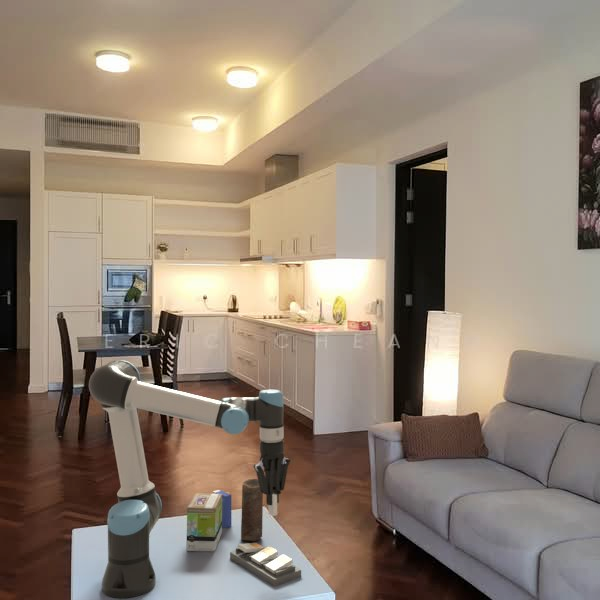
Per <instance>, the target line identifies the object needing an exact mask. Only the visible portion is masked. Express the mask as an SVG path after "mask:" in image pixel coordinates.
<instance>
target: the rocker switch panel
mask: <svg viewBox="0 0 600 600" xmlns="http://www.w3.org/2000/svg"><path fill="white" fill-rule="evenodd" d="M262 550H263V549H262ZM260 551H261V550H259V551H256V552H248V553H246V552H244V551H242V550H240V549H239V548H238V547H235V550H233V551H230V553H229V557H230V558H229V559H231V560H232V561H234V562H236V563H237V564H238V563H239V564H238V565H241V566H242V567H243V568H245V569H246V570H248V571H249V572H251V573H253V574H254V575H256V576H258V577H259V578H260V579H262V580H264V581H265V582H267V583H269V584H270V585H272V586H274V587H276V586H279V585H283V584H284V583H287V582H290V581H292V580H295V579H298V578H301V577H302V569H300V568H299V567H297V566H296V565H294V564H293V563H292V564H290V565H289V566H287V567H285V568H284V569H281V570H278V571H276V572H275V574H274V573H272V572H270V571H269V570H267V569H266V568H265V565H266V564H268V563H269V562H271V561H273V560H274V559H276V558H278V557H279V556H278V555H276V556H275V557H273V558H271V559H270V560H267V561H264V562H262V563H260V565H259V564H257V563H256V562H254V561H252V559H251V556H253V555H255V554H256V553H258V552H260Z"/></svg>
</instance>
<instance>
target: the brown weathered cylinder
mask: <svg viewBox="0 0 600 600" xmlns="http://www.w3.org/2000/svg"><path fill="white" fill-rule="evenodd" d="M241 486H242V487H241V488H242V489H241V520H240V523H241V524H240V525H241V526H240V539H241V540H243V541H249V542H255V541H259V540H260V539H261V538H263V512H264V511H263V507H264V506H263V505H264V504H263V503H264V502H263V501H264V500H263V499H264V494H263V493H261V490H260V486H259V482H258V478H249V479H246V480H245V481H243V483H242V485H241Z"/></svg>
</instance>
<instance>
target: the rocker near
mask: <svg viewBox="0 0 600 600" xmlns="http://www.w3.org/2000/svg"><path fill="white" fill-rule="evenodd" d="M293 563H294V562H293V559H292V558H291V557H289V556H288V555H286V554H284V553H283V554H281V555H279V556H278V558H276V559H274V560H273V561H271V562H269V563H268V564H266V565H265V568H266V569H267V570H269V571H270V572H272V573H274V574H275V572H276V571H278V570H281V569H284V568H285V567H287V566H289V565H290V564H292V565H293Z"/></svg>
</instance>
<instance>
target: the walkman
mask: <svg viewBox="0 0 600 600" xmlns="http://www.w3.org/2000/svg"><path fill="white" fill-rule="evenodd" d="M211 494H222V528H225V529H227V528H231V527H232V524H233V523H232V494H231V493H230V492H228V491H227V492H226V491H223V490H220V489H217V490H213V491H212V493H211Z"/></svg>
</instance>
